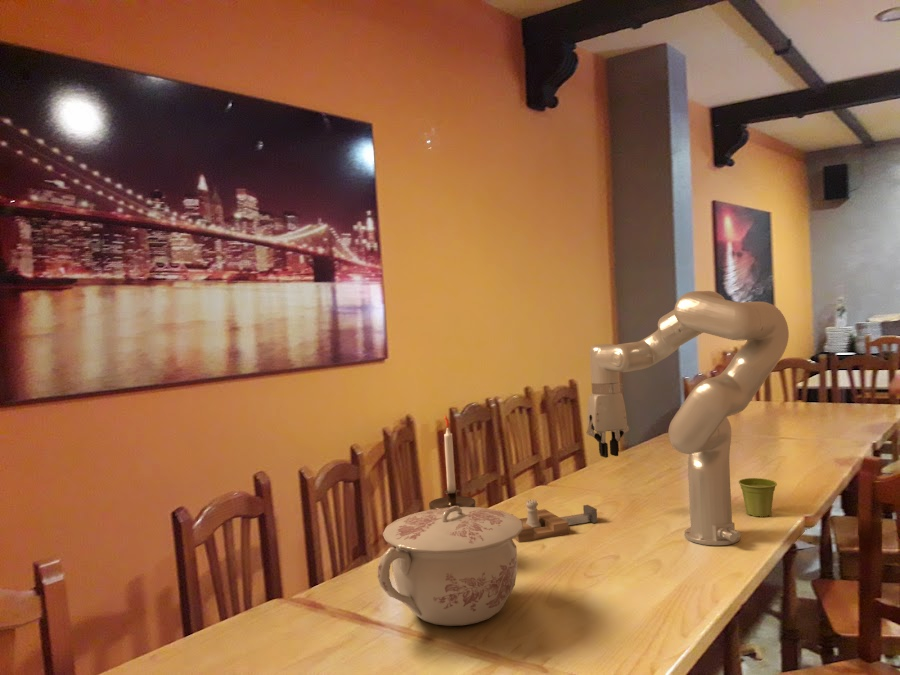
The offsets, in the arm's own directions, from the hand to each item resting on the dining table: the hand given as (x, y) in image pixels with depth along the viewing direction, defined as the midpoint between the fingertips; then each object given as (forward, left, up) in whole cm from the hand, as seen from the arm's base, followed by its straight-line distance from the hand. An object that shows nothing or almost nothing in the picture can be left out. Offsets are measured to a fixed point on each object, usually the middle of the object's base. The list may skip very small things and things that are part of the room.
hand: (609, 455), depth 189 cm
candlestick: (-14, +50, -17) cm, 55 cm away
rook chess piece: (0, +24, -17) cm, 30 cm away
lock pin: (0, +13, -17) cm, 21 cm away
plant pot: (-16, -35, -17) cm, 42 cm away
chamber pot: (-39, +58, -17) cm, 72 cm away
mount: (0, +24, -17) cm, 30 cm away
